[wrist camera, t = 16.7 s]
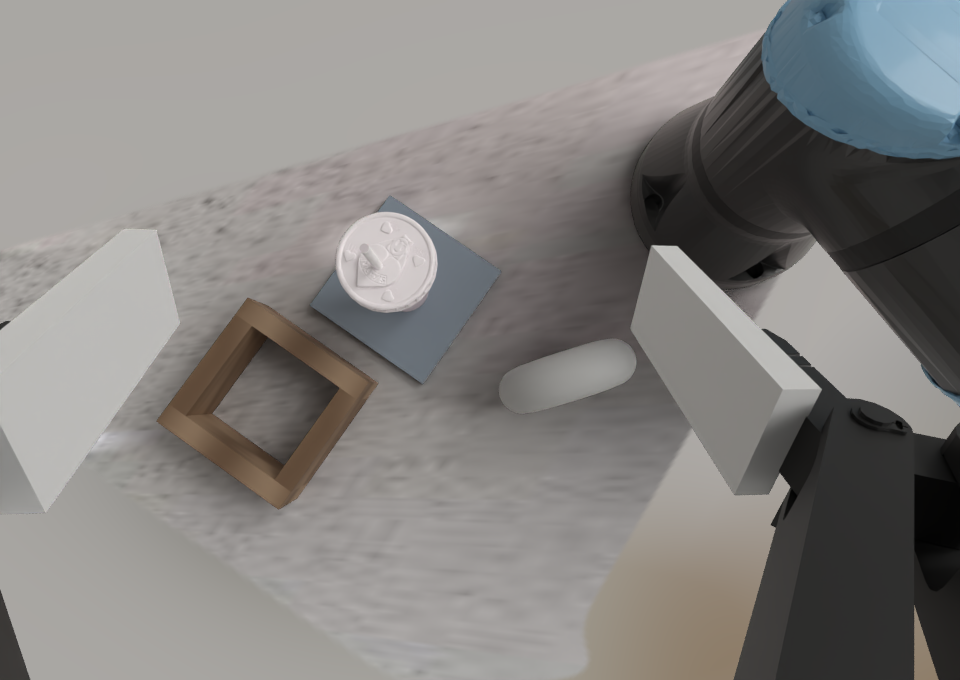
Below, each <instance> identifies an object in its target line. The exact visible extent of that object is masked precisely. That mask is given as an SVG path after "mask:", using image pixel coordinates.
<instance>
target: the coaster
mask: <svg viewBox="0 0 960 680" xmlns="http://www.w3.org/2000/svg"><path fill="white" fill-rule="evenodd" d="M378 212H394V213H399V214H402V215H405V216H407V217H409V218H411V219H413V220H414V221H416V222H417V223H418V224H419V225H421V226H422V227H423V229H424V230H425V231H426V232H427V234H428V235H429V237H430V238H431V240H432V242H433V244H434V247H435V250H436V253H437V263H438V265H437V272H436V277H435V280H434V282H433V284H432V286H431V288H430V290H429V292H428V296H427V299H426V300H425V302H424V303H423V304H422V305H421V306H420V307H419V308H417V309H415V310H413V311H409V312H402V311H399V312H390V313H383V312H377V311H372V310H370V309H367V308H365V307H363V306H361V305H359V304H358V303H357V302H356V301H354V300H353V299H352V298H351V297H350V296H349V295H348V293H347V292H346V291H345V290H344V288H343V287H342V285H341V283H340V281H339V279H338V276H337V272H336V270H335V271H334V273H333V274H332V275H331V277H330V278H329V279H328V281H327V282H326V284H325V285H324V286H323V288H322V289H321V290H320V292H319V293H318V295H317V296H316V297H315V299H314V300H313V301H312V303H311V304H310V306H311V307H313V308H314V309H316V310H317V311H319V312H320V313H322V314H323V315H324V316H326V317H327V318H329V319H330V320H332V321H333V322H334V323H336V324H337V325H339V326H340V327H342V328H343V329H344V330H346V331H347V332H349V333H350V334H352V335H353V336H354V337H356V338H357V339H359V340H360V341H362V342H363V343H365V344H366V345H367V346H369V347H370V348H372V349H373V350H375V351H376V352H377V353H379V354H380V355H382V356H383V357H385V358H386V359H387V360H389V361H390V362H392V363H393V364H395V365H396V366H397V367H399V368H400V369H402V370H403V371H405V372H406V373H408V374H409V375H410V376H412V377H413V378H415V379H416V380H418V381H419V382H420V383H422V384H424V383H425V381H426V380H427V378H428V377H429V375H430V374H431V373H432V371H433V370H434V368H435V367H436V365H437V364H438V362H439V361H440V360H441V358H442V357H443V355H444V354H445V352H446V351H447V350H448V348H449V347H450V345H451V344H452V342H453V341H454V340H455V338H456V337H457V335H458V334H459V332H460V331H461V330H462V328H463V327H464V325H465V324H466V322H467V321H468V320H469V318H470V317H471V315H472V314H473V312H474V311H475V310H476V308H477V307H478V305H479V304H480V302H481V301H482V300H483V298H484V297H485V295H486V294H487V292H488V291H489V290H490V288H491V287H492V285H493V284H494V282H495V281H496V279H497V278H498V277H499V275H500V274H501V270H499V269H498V268H496V267H495V266H493V265H492V264H490V263H489V262H487V261H486V260H484V259H483V258H482V257H480V256H479V255H477V254H476V253H474V252H473V251H471V250H470V249H468V248H467V247H465V246H464V245H462V244H461V243H459V242H458V241H457V240H455V239H454V238H452V237H451V236H449V235H448V234H446V233H445V232H443V231H442V230H440V229H439V228H437V227H436V226H434V225H433V224H432V223H430V222H429V221H427V220H426V219H424V218H423V217H421V216H420V215H418V214H417V213H415V212H414V211H412V210H411V209H409V208H408V207H407V206H405V205H404V204H402V203H401V202H399V201H398V200H396V199H395V198H393V197H392V196H389V197H388V198H387V200H386V201H385V203H384V204H383V205H382V207H381V208H380V209H379V211H378ZM378 212H377V213H378Z"/></svg>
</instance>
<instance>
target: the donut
mask: <svg viewBox="0 0 960 680" xmlns="http://www.w3.org/2000/svg"><path fill="white" fill-rule="evenodd" d="M636 363H637V361H636V355H635V353H634V351H633V349H632V348H631V347H630V346H629V345H628V344H627V343H626V342H624V341H622V340H620V339H615V338H609V339H603V340H598V341H594V342H591V343H587V344H584V345H580V346H577V347H574V348H571V349H568V350H564V351H561V352H558V353H555V354H552V355H549V356H546V357H543V358H540V359H537V360H534V361H531V362H529V363H526V364H523V365H521V366H518V367H516V368H514V369H512V370H510V371H508V372H507V373H506V374H505V375H504V376H503V378H502V380H501V382H500V385H499V396H500V399H501V401H502V403H503V404H504V405H505V406H506V407H507V409H509V410H511V411H513V412H514V413H520V414H526V413H533V412H537V411H541V410H545V409H549V408H553V407H556V406H560V405H563V404H566V403H570V402H573V401H576V400H579V399H583V398H586V397H589V396H592V395H595V394H598V393H601V392H603V391H606V390H609V389H612V388H614V387H617V386H619V385H621V384H623V383H625V382H626V381H628V380H629V379H630V378H631V377H632V375H633V373H634V371H635V370H636Z"/></svg>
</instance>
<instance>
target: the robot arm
mask: <svg viewBox="0 0 960 680" xmlns="http://www.w3.org/2000/svg"><path fill="white" fill-rule="evenodd" d="M631 209H632V214H633V219H634V222H635V225H636V228H637V231H638V233H639V235H640V237H641V239H642V241H643V243H644V244H645V246H646V247H647V249H648V250H649V251H650V253H649V257H648V261H647V265H646V269H645V273H644V276H643V280H642V284H641V288H640V292H639V296H638V300H637V304H636V308H635V312H634V316H633V320H632V323H631V327H630V329H631V331H632V333H633V334H634V336H635V337H636V339H637V341H638V342H639V344H640V345H641V347H642V349H643V350H644V352H645V353H646V355H647V357H648V358H649V360H650V361H651V363H652V365H653V366H654V368H655V369H656V371H657V373H658V374H659V376H660V377H661V379H662V381H663V382H664V384H665V385H666V387H667V389H668V390H669V392H670V393H671V395H672V396H673V398H674V400H675V401H676V403H677V404H678V406H679V408H680V409H681V411H682V412H683V414H684V416H685V417H686V419H687V420H688V422H689V424H690V425H691V427H692V428H693V430H694V432H695V433H696V435H697V436H698V438H699V440H700V441H701V443H702V444H703V446H704V448H705V449H706V451H707V452H708V454H709V455H710V457H711V459H712V460H713V462H714V464H715V465H716V467H717V468H718V470H719V471H720V473H721V475H722V476H723V478H724V479H725V481H726V483H727V484H728V486H729V487H730V489H731V491H732V492H733V494H734V495H762V494H769V493H770V491H771V489H772V487H773V485H774V483H775V481H776V479H777V477H778V475H779V473H781V475H782V476H783V477H784V479H785V480H786V481H787V482H788V484H789V485H790V489H789V492H788V493H787V495H786V497H785V499H784V501H783V502H782V504H781V506H780V508H779V510H778V512H777V514H776V516H775V518H774V519H773V521H772V523H771V525H772V526H774V527H776V530H775V533H774V537H773V541H772V544H771V548H770V551H769V555H768V559H767V562H766V566H765V569H764V573H763V576H762V580H761V584H760V587H759V591H758V594H757V598H756V602H755V605H754V609H753V612H752V616H751V619H750V623H749V627H748V630H747V634H746V637H745V641H744V645H743V648H742V652H741V655H740V659H739V663H738V667H737V670H736V673H735V677H734V680H914V605H915V608H916V611H917V614H918V617H919V621H920V624H921V627H922V630H923V633H924V636H925V639H926V642H927V645H928V648H929V651H930V654H931V657H932V661H933V664H934V667H935V669H936V673H937V676H938V679H939V680H960V423H959V424H958V425H957V426H956V427H955V428H954V430H953V431H952V432H951V434H950V435H949V437H948V438H947V440H946V439H941V438H936V437H931V436H926V435H921V434H916V433H913V431H912V428H911V427H910V426H909V424H908V423H907V422H906V421H905V420H904V419H903V418H901V417H900V416H898V415H897V414H895V413H894V412H892V411H891V410H889V409H887V408H884V407H882V406H880V405H877V404H875V403H872V402H868V401H865V400H861V399H847V398H845V396H844V395H842V394H841V393H840V392H839V391H838V390H837V389H836V388H835V387H834V386H833V385H832V384H831V383H830V382H829V381H828V380H827V379H826V378H825V377H824V376H823V375H821V374H820V373H819V372H818V371H817V370H816V369H815V368H814V367H811V364H810V363H809V362H808V361H807V360H806V359H805V358H804V357H803V356H800V354H799V353H798V352H797V351H796V350H795V349H794V348H793V347H792V346H791V345H790V344H789V343H788V342H787V341H786V340H784V339H782V338H781V337H778V336H777V335H775V334H774V333H772V332H770V331H768V330H767V329H760V328H759V327H758V326H757V325H756V324H755V323H754V322H753V321H752V320H751V319H750V318H749V317H748V316H747V315H746V314H745V313H744V312H743V311H742V310H741V309H740V308H739V307H738V306H737V305H736V304H735V303H734V302H733V301H732V300H731V299H730V298H729V297H728V296H727V295H726V294H725V293H724V292H723V291H722V290H721V289H735V288H742V287H747V286H751V285H754V284H757V283H760V282H762V281H765V280H767V279H770V278H772V277H775V276H777V275H779V274H781V273H783V272H784V271H786V270H787V269H789V268H790V267H792V266H793V265H794V264H796V263H797V262H798V261H799V260H800V259H801V258H802V257H803V256H805V254H806V253H807V252H808V251H809V250H810V248H811V247H812V246H813V245H814V243H815V242H816V241H817V242H818V243H819V244H820V245H821V246H822V248H823V249H824V250H825V251H826V252H827V253H828V254H829V255H830V257H831V258H832V259H833V260H834V261H835V262H836V264H837V265H838V266H839V267H840V269H841V270H842V271H843V272H844V274H845V275H846V276H847V277H848V278H849V280H850V281H851V282H852V283H853V284H854V285H855V287H856V288H857V289H858V290H859V291H860V292H861V294H862V295H863V296H864V297H865V298H866V300H867V301H868V302H869V303H870V304H871V305H872V307H873V308H874V309H875V310H876V311H877V313H878V314H879V315H880V316H881V317H882V318H883V320H884V321H885V322H886V323H887V324H888V325H889V327H890V328H891V329H892V330H893V331H894V333H895V334H896V335H897V336H898V337H899V338H900V340H901V341H902V342H903V343H904V344H905V345H906V347H907V348H908V349H909V350H910V351H911V353H912V354H913V355H914V356H915V357H916V358H917V360H918V361H919V362H920V363H921V367H922V369H923V372H924V373H925V375H926V376H927V378H928V379H929V380H930V382H931V383H932V384H933V385H934V386H935V387H936V388H939V389H940V390H941V392H942V393H943V394H945V395H946V396H948V397H950V398H951V399H953V401H954V402H955V403H956V404H957V405H958V406H959V407H960V0H787V2H786V3H785V4H784V5H783V6H782V7H781V8H780V9H779V11H778V13H777V15H776V17H775V18H774V19H773V20H772V21H771V23H770V24H769V26H768V28H767V31H766V32H765V33H764V35H763V36H762V37H761V38H760V40H759V41H758V42H757V43H756V45H755V46H754V47H753V48H752V50H751V51H750V52H749V53H748V55H747V56H746V57H745V58H744V60H743V61H742V62H741V63H740V65H739V66H738V67H737V68H736V70H735V71H734V72H733V73H732V75H731V76H730V77H729V79H728V80H727V81H726V82H725V84H724V85H723V86H722V87H721V89H720V90H719V91H718V92H717V94H716V95H715V96H714V97H711V98H709V99H707V100H705V101H702V102H700V103H698V104H696V105H694V106H691V107H689V108H687V109H685V110H683V111H682V112H680V113H679V114H677V115H676V116H674V117H673V118H672V119H671V120H669V121H668V122H667V123H666V124H665V125H664V126H663V127H662V128H661V129H660V130H659V131H658V132H657V133H656V134H655V136H654V137H653V139H652V140H651V141H650V143H649V144H648V146H647V147H646V148H645V150H644V152H643V153H642V155H641V157H640V159H639V161H638V163H637V165H636V168H635V171H634V174H633V178H632V184H631ZM179 324H180V320H179V316H178V312H177V309H176V305H175V301H174V297H173V293H172V289H171V285H170V281H169V277H168V273H167V269H166V265H165V261H164V257H163V253H162V249H161V245H160V242H159V238H158V234H157V230H151V229H123V230H122V231H121V232H119V233H118V234H117V235H116V236H115V237H113V238H112V239H111V240H110V241H108V242H107V243H106V244H105V245H104V246H102V247H101V248H100V249H99V250H97V251H96V252H95V253H94V254H93V255H91V256H90V257H89V258H88V259H86V260H85V261H84V262H83V263H82V264H80V265H79V266H78V267H77V268H75V269H74V270H73V271H72V272H71V273H69V274H68V275H67V276H66V277H64V278H63V279H62V280H61V281H60V282H58V283H57V284H56V285H55V286H54V287H52V288H51V289H50V290H49V291H47V292H46V293H45V294H44V295H43V296H41V297H40V298H39V299H38V300H36V301H35V302H34V303H33V304H32V305H30V306H29V307H28V308H27V309H25V310H24V311H23V312H22V313H21V314H19V315H18V316H17V317H16V318H14V319H13V320H12V321H5V322H3V323H1V324H0V514H34V513H35V514H37V513H46V512H47V511H48V509H49V508H50V507H51V505H52V504H53V502H54V501H55V499H56V498H57V497H58V495H59V494H60V493H61V491H62V490H63V488H64V487H65V485H66V484H67V483H68V481H69V480H70V478H71V477H72V475H73V474H74V473H75V471H76V470H77V468H78V467H79V466H80V464H81V463H82V461H83V460H84V459H85V457H86V456H87V454H88V453H89V452H90V450H91V449H92V447H93V446H94V444H95V443H96V442H97V440H98V439H99V437H100V436H101V435H102V433H103V432H104V430H105V429H106V428H107V426H108V425H109V423H110V422H111V420H112V419H113V418H114V416H115V415H116V413H117V412H118V411H119V409H120V408H121V406H122V405H123V403H124V402H125V401H126V399H127V398H128V396H129V395H130V394H131V392H132V391H133V389H134V388H135V387H136V385H137V384H138V382H139V381H140V379H141V378H142V377H143V375H144V374H145V372H146V371H147V370H148V368H149V367H150V365H151V364H152V362H153V361H154V360H155V358H156V357H157V355H158V354H159V353H160V351H161V350H162V348H163V347H164V346H165V344H166V343H167V341H168V340H169V338H170V337H171V336H172V334H173V333H174V331H175V330H176V329H177V327H178V326H179ZM0 680H30V678H29V675H28V672H27V669H26V666H25V663H24V660H23V657H22V654H21V651H20V648H19V645H18V642H17V639H16V636H15V633H14V630H13V627H12V624H11V621H10V618H9V615H8V612H7V609H6V606H5V603H4V600H3V597H2V594H1V591H0Z"/></svg>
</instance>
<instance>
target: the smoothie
mask: <svg viewBox="0 0 960 680" xmlns="http://www.w3.org/2000/svg"><path fill="white" fill-rule="evenodd" d="M335 264H336V272H337V276H338V279H339V281H340V283H341V285H342V287H343V288H344V290H345V291H346V292H347V293H348V295H349V296H350V297H351V298H352V299H353V300H354V301H356V302H357V303H358V304H359V305H361V306H363V307H365V308H367V309H370V310H372V311H377V312H383V313H390V312H399V311H402V312H409V311H413V310H415V309H417V308H419V307H420V306H421V305H422V304H423V303H424V302H425V300H426V299H427V296H428V292H429V290H430V288H431V286H432V284H433V282H434V280H435V277H436V272H437V265H438V263H437V253H436V250H435V247H434V244H433V242H432V240H431V238H430V237H429V235H428V234H427V232H426V231H425V230H424V229H423V227H422V226H421V225H419V224H418V223H417V222H416V221H414V220H413V219H411V218H409V217H407V216H405V215H402V214H399V213H394V212H378V213H373V214H370V215H367V216H365V217H363V218H361V219H359V220H358V221H356V222H355V223H354V224H353V225H351V226H350V227H349V228H348V230H347V231H346V232H345V233H344V235H343V236H342V238H341V240H340V242H339V245H338V248H337V252H336V259H335Z"/></svg>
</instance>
